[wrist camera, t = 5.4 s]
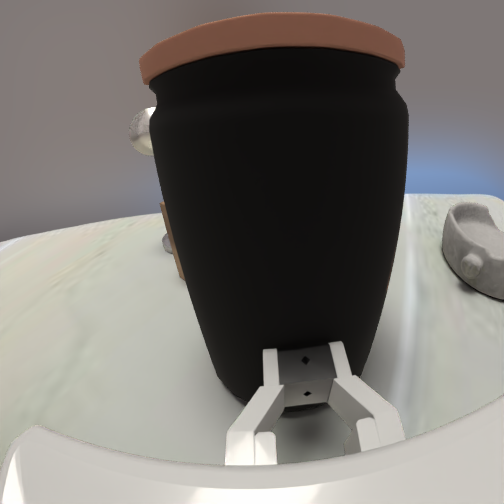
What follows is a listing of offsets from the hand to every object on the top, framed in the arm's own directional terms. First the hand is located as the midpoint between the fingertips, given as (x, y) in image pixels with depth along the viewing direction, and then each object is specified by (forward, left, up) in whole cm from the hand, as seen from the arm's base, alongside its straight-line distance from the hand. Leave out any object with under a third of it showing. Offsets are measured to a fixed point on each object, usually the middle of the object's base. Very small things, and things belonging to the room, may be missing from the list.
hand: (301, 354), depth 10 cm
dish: (+24, +12, -7) cm, 28 cm away
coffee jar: (0, +6, -7) cm, 9 cm away
